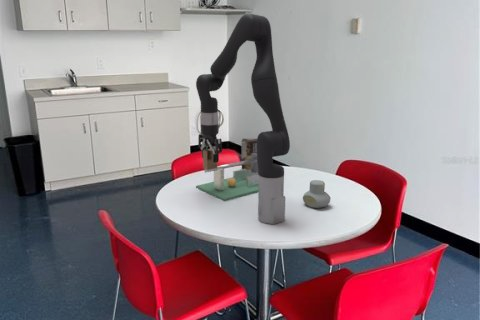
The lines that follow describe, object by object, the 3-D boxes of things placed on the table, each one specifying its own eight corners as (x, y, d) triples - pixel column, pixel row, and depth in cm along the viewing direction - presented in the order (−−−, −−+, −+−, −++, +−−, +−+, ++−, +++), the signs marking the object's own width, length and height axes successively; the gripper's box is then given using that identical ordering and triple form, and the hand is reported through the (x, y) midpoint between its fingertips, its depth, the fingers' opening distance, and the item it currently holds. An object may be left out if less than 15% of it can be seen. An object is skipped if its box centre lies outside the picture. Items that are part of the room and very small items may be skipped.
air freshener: (299, 204, 174) (300, 180, 172) (312, 199, 179) (313, 177, 177) (320, 212, 166) (321, 187, 163) (333, 207, 171) (334, 183, 169)
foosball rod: (263, 179, 201) (264, 141, 196) (209, 193, 182) (208, 151, 178) (256, 177, 205) (257, 139, 200) (202, 190, 186) (201, 149, 182)
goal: (259, 184, 196) (259, 174, 194) (248, 187, 192) (248, 176, 190) (243, 178, 204) (243, 168, 203) (233, 181, 200) (233, 171, 199)
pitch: (267, 189, 192) (267, 187, 192) (224, 201, 178) (224, 198, 177) (237, 178, 209) (237, 176, 208) (196, 187, 194) (196, 185, 194)
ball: (237, 186, 193) (237, 178, 191) (230, 188, 190) (230, 179, 189) (232, 184, 196) (232, 176, 195) (225, 186, 193) (225, 177, 192)
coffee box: (259, 168, 225) (260, 138, 221) (259, 171, 219) (259, 141, 215) (242, 168, 226) (242, 138, 222) (241, 171, 220) (241, 140, 216)
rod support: (263, 183, 200) (263, 155, 197) (259, 184, 199) (260, 156, 195) (254, 180, 205) (254, 152, 202) (250, 181, 204) (251, 153, 200)
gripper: (226, 124, 175) (227, 162, 179) (207, 119, 186) (208, 155, 190) (211, 126, 170) (212, 165, 175) (192, 121, 181) (193, 158, 186)
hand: (210, 160), depth 182 cm, fingers open, 8 cm apart
